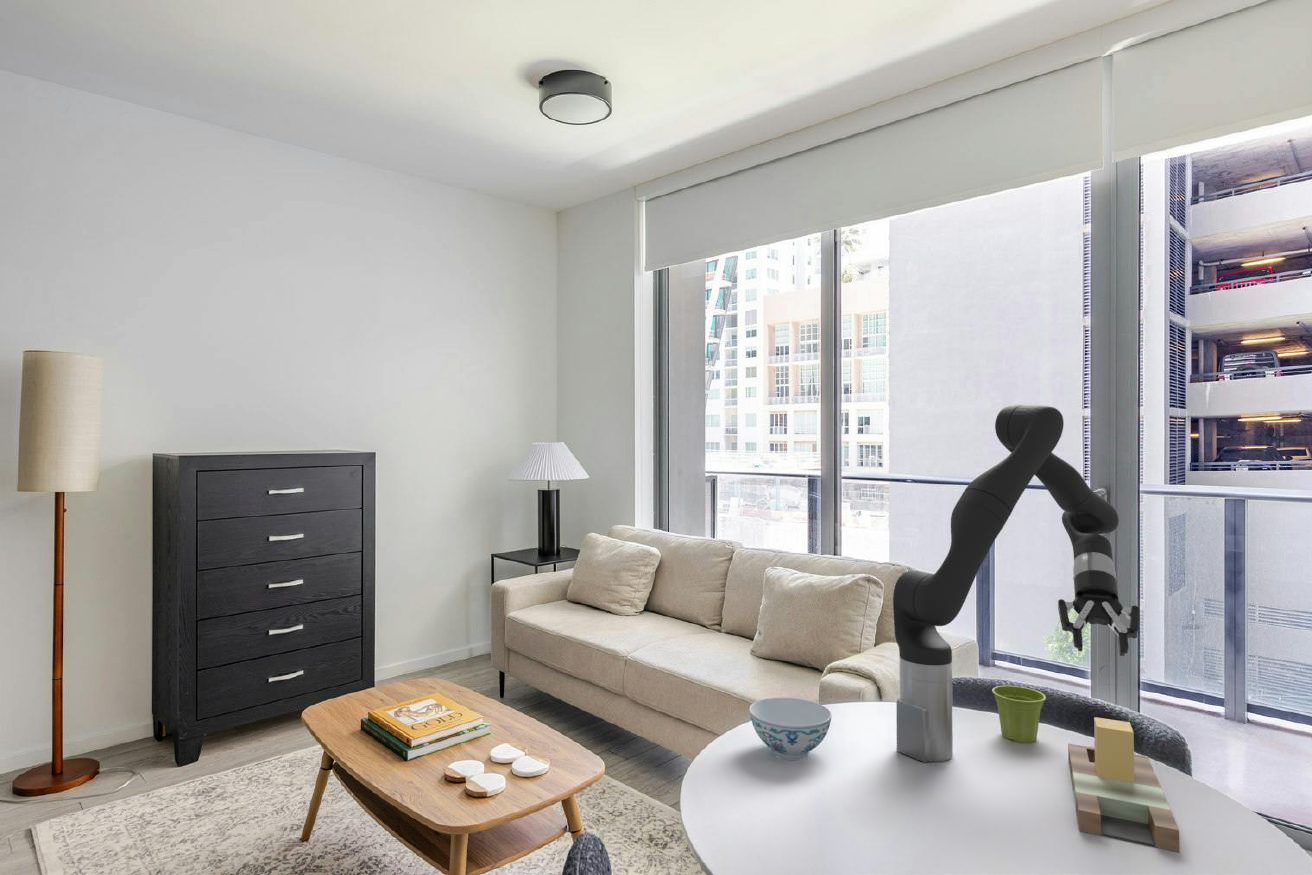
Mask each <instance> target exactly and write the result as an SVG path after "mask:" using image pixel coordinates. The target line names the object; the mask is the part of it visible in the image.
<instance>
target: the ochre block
mask: <svg viewBox="0 0 1312 875" xmlns="http://www.w3.org/2000/svg"><path fill="white" fill-rule="evenodd" d="M1093 720H1094V721H1093V723H1094V725H1093V726H1094V727H1093V728H1094V729H1093V730H1094V748H1095V767H1096V772H1097V776H1098V777H1103V778H1108V779H1114V780H1119V781H1125V782H1130V783H1134V755H1135V744H1134V742H1135V741H1134V740H1135V738H1134V735H1135V732H1134V730H1133V727H1132V726H1131V723H1130V722H1129V721H1123V720H1116V719H1111V718H1110V719H1109V718H1103V717H1095V716H1094V717H1093Z"/></svg>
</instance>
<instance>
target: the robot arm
mask: <svg viewBox="0 0 1312 875" xmlns="http://www.w3.org/2000/svg"><path fill="white" fill-rule="evenodd" d="M994 424H995V425H994V430H995V434H996V436H997V439H998V440H999V442H1000V443H1001V444H1002V445H1003V447H1005V449H1006V450H1008V451H1009V452H1010V454H1009V455H1007V457H1005V458H1004V459H1003V460H1001V461H1000V462H999V463H997V464H996V465H994V466H993V467H991V468H989V469H988V470H986V471H984V472H983V473H981V474H980V475H979V476H977V477H976V478H975V479H973V480H972V481H971V482H970V483H969V484H968V485H967V487H966V488H965V489H964V490H963V492H962V494H961V496H960V498H959V499H958V500H957V502H956V504H955V506H954V507H953V509H952V512H951V517H950V537H951V538H950V539H951V540H950V541H951V542H950V546H949V551H948V553H947V555H946V557H945V558H944V560H943V561H942V563H941V565H940V567H939V568H938V569H937V571H936V572H935V573H930V572H926V571H921V570H920V571H919V570H908V571H905V572H902V574H901V575H900V576H899V577H898V579H897V580H896V582H895V584H894V589H893V595H892V606H893V607H892V609H893V611H892V612H893V626H894V636H895V637H894V638H895V641H896V644H897V646H898V650H899V652H898V653H899V698H898V699H897V700H896V751H897V752H899V753H901V754H903V755H906V756H907V757H911V758H913V759H915V760H917V761H919V762H922V763H927V762H943V761H944V762H946V761H948V760H950V759H952V758H953V754H954V753H953V751H954V750H953V748H954V747H953V746H954V744H953V743H954V742H953V740H954V738H953V736H954V735H953V649H952V646H951V645H950V643H948V642H947V640H945V639H944V638H943V637H942V636H941V635H940V634H939V632H938V630H937V628H936V627H943V626H947V625H948V624H950V623H952V622H953V621H954V620H955V619H956V618H957V616H958V615H959V613H960V612H961V610H962V608H963V606H964V603H965V602H966V600H967V598H968V595H969V592H970V590H971V588H972V586H973V584H974V581H975V579H976V576H977V574H978V572H979V570H980V568H981V566H982V564H983V562H984V561H985V560H986V556H987V555H988V553H989V551H990V549H991V548H992V546H993V544H994V543H995V541H996V539H997V537H998V536H999V534H1000V533H1001V531H1002V530H1003V528H1004V526H1005V525H1006V523H1007V521H1008V520H1009V517H1010V516H1011V515H1012V512H1013V510H1014V509H1015V507H1016V504H1017V503H1018V501H1019V500H1020V499H1021V497H1022V495H1023V493H1024V491H1025V490H1026V488H1027V486H1028V485H1029V484H1030V482H1031V481H1032V480H1033V478H1034V476H1035V477H1036V478H1037V479H1038V480H1039V481H1040V482H1041V483H1042V484H1043V486H1044V487H1045V488H1046V490H1047V491H1048V493H1049V494H1050V496H1051V497H1052V498H1053V500H1054V501H1055V503H1056V504H1057V505H1058V507H1060V508H1061V510H1063V513H1062V514H1061V515H1062V516H1061V522H1062V525H1063V527H1064V530H1065V531H1066V533H1067V536H1069V539H1070V542H1071V546H1072V551H1073V569H1072V571H1073V575H1072V576H1073V577H1072V580H1073V588H1074V599H1073V601H1065V599H1062V598H1060V599H1058V600H1057V610H1058V614H1059V615H1058V616H1059V620H1060V624H1061V629H1062V631H1064V632H1070V633H1071V634H1072V638H1073V646H1074V648H1076V649H1077V651H1078V652H1083V649H1084V648H1083V630H1084V629H1085V628H1086V627H1087V625H1098V624H1099V625H1101V626H1108V627H1109V628H1110V630H1111V631H1112V632H1114V633H1115V634H1116V635H1117V643H1118V653H1119V654H1118V655H1119V657H1120V656H1121V657H1124V656H1125V654H1128V653H1129V641H1128V640H1129V638H1130V639H1131V638H1132V639H1137V637H1138V632H1139V622H1140V621H1139V620H1140V618H1139V617H1140V614H1139V613H1140V608H1139V606H1138V605H1132V606H1131V607H1130V606H1125V605H1123V604H1122V603H1121V602H1120V599H1119V592H1118V591H1119V590H1118V589H1119V588H1118V583H1117V572H1116V569H1115V565H1114V560H1113V551H1112V545H1111V542H1110V541H1109V539H1108V538H1107V537H1105V536H1103V535H1104V534H1109V533H1112V532H1113V531H1115V530H1116V529H1117V528H1118V526H1119V522H1120V520H1119V514H1118V512H1117V510H1116V509H1115V508H1114V506H1113V505H1112V504H1111V503H1110V502H1109V501H1108V500H1106V499H1105V498H1104V497H1102V496H1101V495H1099V494H1098V493H1096V491H1093V490H1092V489H1091V488H1090V486H1089V485H1088V484H1087V482H1086V480H1085V479H1084V478H1083V475H1081V473H1080V472H1079V471H1077V469H1076V468H1075V467H1073V465H1072V464H1070V463H1069V462H1067V461H1065V460H1064V459H1063V458H1061V457H1060V456H1058V455H1056V454H1055V453H1054V452H1053V451H1054V449H1056V448H1057V445H1058V443H1059V441H1060V440H1061V438H1062V435H1063V432H1064V431H1063V430H1064V417H1063V414H1062V413H1061V411H1060V410H1059V408H1058V409H1057V408H1056V407H1053V406H1049V405H1040V404H1011V405H1007V406H1005V407H1003V408H1001V410H1000V411H999V412H998V414H997V416H996V419H995V422H994ZM1072 609H1073V610H1074V611H1075V612H1076V613H1077V614H1078V615H1077V618H1076V620H1075V621H1074V623H1073V622H1070V619H1069V613H1070V612H1071V610H1072ZM1122 613H1123V614H1125V618H1127V620H1130V621H1129V622H1130V623H1129V627H1127V628H1126V626H1125V625H1124V624H1123V622H1122V620H1121V619H1120V615H1121V614H1122Z"/></svg>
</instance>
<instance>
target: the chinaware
mask: <svg viewBox="0 0 1312 875" xmlns="http://www.w3.org/2000/svg"><path fill="white" fill-rule="evenodd" d="M749 717H750V720H751V723H752V726H753V729H754V731H755V733H756V734H757V736H758V737H759V739H760V740H761V741H762V742H763V744H765V745H766V746H767V747H768V748H770V750H771V753H772V754H773V755H774V757H776V758H779V759H783V760H786V761H787V760H788V761H800V759H801V760H804V759H806V758H808V757H809V753H810V752H811V751H813V750H814V749H815V748H817V747H818V746H819V745H821V743H822V742H823V740H824V739H825V737H826V736H827V734H828V731H829V728H830V727H831V726H830V725H831V722H832V712H831V711H830V709H829V708H828V707H826V706H825V705H823V704H821V703H818V702H815V701H812V700H808V699H803V698H796V697H795V698H794V697H787V696H786V697H784V696H783V697H782V696H781V697H767V698H763V699H759V700H756V701H755V702H753V703H752V704H750V706H749ZM805 757H806V758H805Z"/></svg>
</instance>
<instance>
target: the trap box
mask: <svg viewBox="0 0 1312 875" xmlns="http://www.w3.org/2000/svg"><path fill="white" fill-rule="evenodd" d="M1067 748H1068V750H1067V751H1068V757H1067V758H1068V765H1069V772H1070V778H1071V780H1070V781H1071V786H1072V793H1073V798H1074V800H1073V801H1074V807H1075V813H1076V819H1077V820H1076V821H1077V826H1078V832H1084V833H1089V834H1093V835H1098V836H1103V837H1108V838H1113V839H1117V840H1122V841H1125V842H1126V841H1127V842H1131V843H1135V844H1140V845H1145V846H1149V847H1154V848H1158V849H1163V850H1168V851H1172V852H1176V853H1177V852H1178V853H1180V851H1181V850H1180V848H1181V846H1180V829H1179V826H1178V824H1177V821H1176V820H1175V817H1174V815H1173V812H1172V810H1171V808H1170V806H1169V803H1168V801H1167V798H1166V796H1165V794H1164V792H1163V788H1162V787H1161V784H1160V782H1159V780H1158V777H1157V775H1156V772H1155V770H1154V767H1153V766H1152V765H1153V764H1151V760H1150V758H1149V757H1148V756H1146V755H1139V754H1134V783H1130V782H1125V781H1119V780H1114V779H1108V778H1103V777H1098V776H1097V772H1096V767H1095V747H1091V746H1085V745H1079V744H1075V743H1074V744H1073V743H1068V744H1067Z"/></svg>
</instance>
